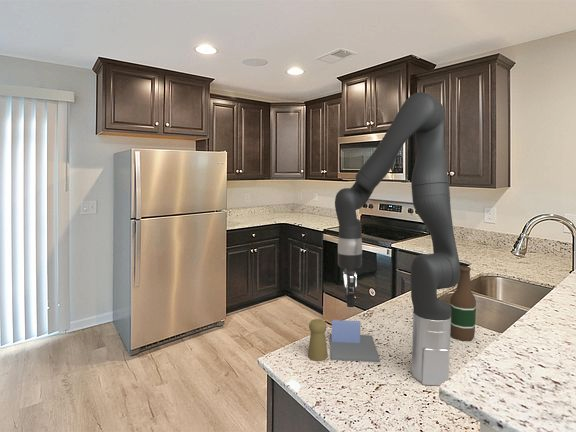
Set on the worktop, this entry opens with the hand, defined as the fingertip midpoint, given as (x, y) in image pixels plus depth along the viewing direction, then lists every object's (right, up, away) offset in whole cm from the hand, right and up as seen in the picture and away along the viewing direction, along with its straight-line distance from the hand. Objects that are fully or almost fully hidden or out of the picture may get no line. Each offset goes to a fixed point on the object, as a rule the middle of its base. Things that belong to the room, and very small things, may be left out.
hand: (349, 302), depth 109 cm
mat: (+1, -14, -1) cm, 14 cm away
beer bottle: (+39, -13, +6) cm, 41 cm away
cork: (-11, -15, -6) cm, 19 cm away
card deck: (-1, -13, +2) cm, 13 cm away
